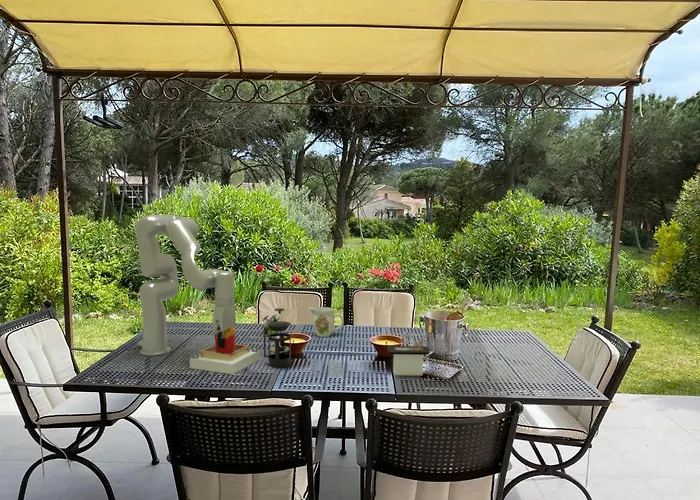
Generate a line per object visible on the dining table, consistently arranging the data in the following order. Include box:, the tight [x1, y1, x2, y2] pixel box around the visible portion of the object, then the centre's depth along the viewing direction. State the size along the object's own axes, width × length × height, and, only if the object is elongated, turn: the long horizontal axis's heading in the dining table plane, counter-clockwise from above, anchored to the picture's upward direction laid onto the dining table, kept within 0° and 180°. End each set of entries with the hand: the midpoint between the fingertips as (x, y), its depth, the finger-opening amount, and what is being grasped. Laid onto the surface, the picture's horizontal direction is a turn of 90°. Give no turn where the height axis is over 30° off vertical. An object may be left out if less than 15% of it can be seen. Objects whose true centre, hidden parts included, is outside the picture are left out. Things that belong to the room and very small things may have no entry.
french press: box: [263, 308, 292, 369], centre depth 213 cm, size 12×9×23 cm
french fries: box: [214, 327, 236, 354], centre depth 213 cm, size 8×4×12 cm, turn 90°
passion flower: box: [262, 313, 282, 335], centre depth 262 cm, size 11×11×12 cm
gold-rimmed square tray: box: [189, 343, 261, 375], centre depth 213 cm, size 20×20×6 cm
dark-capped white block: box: [386, 337, 431, 376], centre depth 203 cm, size 35×28×14 cm
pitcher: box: [307, 306, 345, 338], centre depth 259 cm, size 11×18×14 cm, turn 88°
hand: (225, 345), depth 213 cm, fingers closed on french fries, 4 cm apart
